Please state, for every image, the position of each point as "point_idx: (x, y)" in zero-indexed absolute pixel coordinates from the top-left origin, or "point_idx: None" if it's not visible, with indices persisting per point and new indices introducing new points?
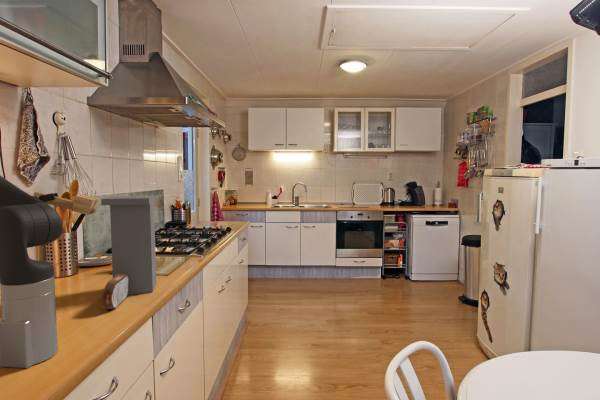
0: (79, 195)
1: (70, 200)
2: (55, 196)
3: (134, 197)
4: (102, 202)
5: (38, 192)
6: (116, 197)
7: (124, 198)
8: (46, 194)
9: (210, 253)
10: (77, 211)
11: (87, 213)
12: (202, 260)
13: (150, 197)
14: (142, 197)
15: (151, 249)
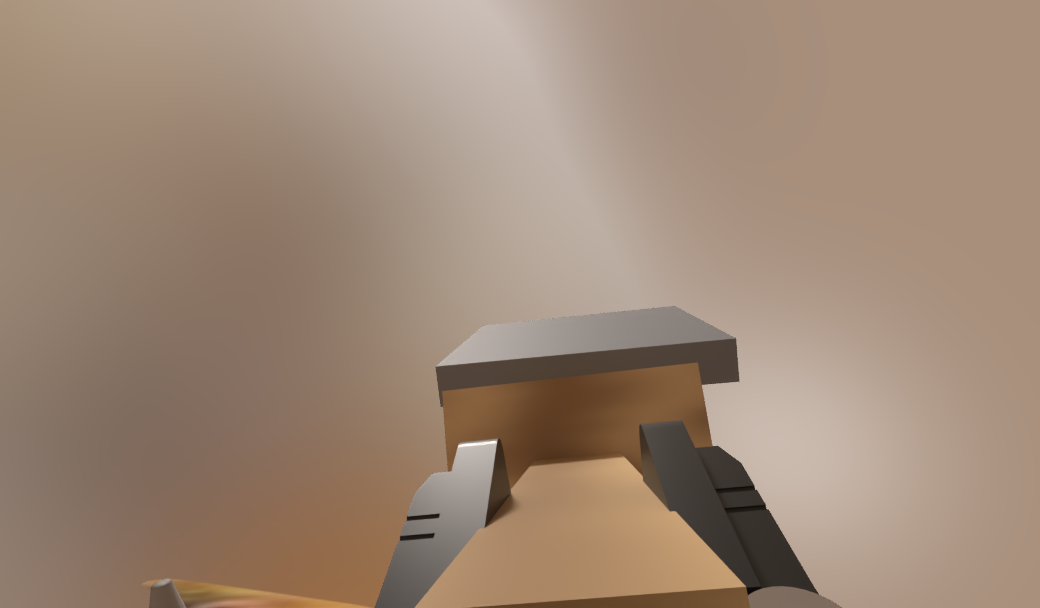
0: (594, 374)
1: (574, 464)
2: (528, 496)
3: (607, 323)
4: (734, 361)
5: (513, 586)
6: (584, 341)
7: (689, 320)
8: (706, 477)
9: (205, 584)
10: None
11: None
12: (293, 600)
13: (622, 311)
14: (615, 316)
15: None
